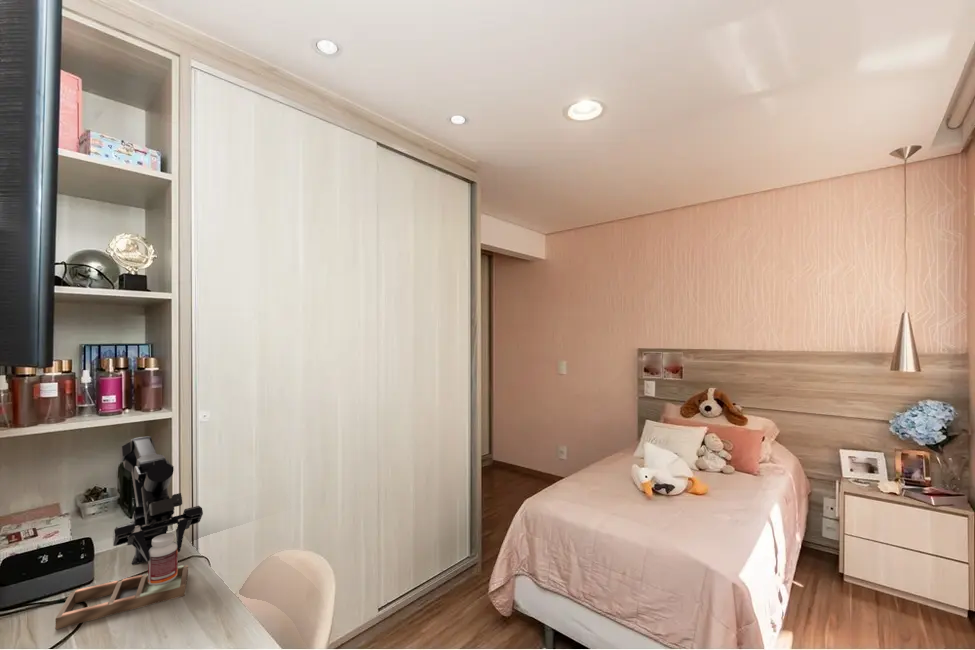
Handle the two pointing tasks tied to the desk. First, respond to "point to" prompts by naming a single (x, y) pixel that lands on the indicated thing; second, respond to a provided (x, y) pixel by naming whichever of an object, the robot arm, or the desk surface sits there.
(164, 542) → the pill bottle
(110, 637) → the desk surface
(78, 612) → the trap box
